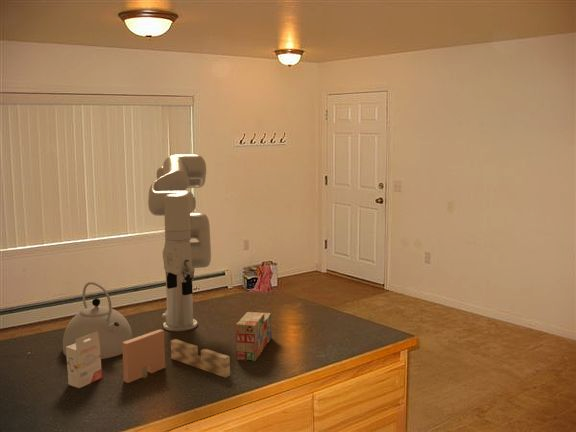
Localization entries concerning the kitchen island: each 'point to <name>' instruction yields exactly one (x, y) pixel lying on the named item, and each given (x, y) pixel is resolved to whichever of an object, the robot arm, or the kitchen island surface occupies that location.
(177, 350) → the oak notched board
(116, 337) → the kettle
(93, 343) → the ink cartridge box
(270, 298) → the kitchen island surface
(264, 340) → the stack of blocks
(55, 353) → the kitchen island surface
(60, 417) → the kitchen island surface
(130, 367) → the terracotta slotted plate
